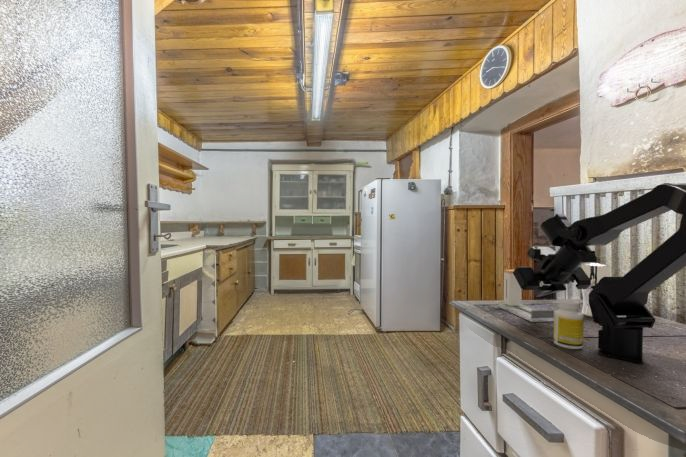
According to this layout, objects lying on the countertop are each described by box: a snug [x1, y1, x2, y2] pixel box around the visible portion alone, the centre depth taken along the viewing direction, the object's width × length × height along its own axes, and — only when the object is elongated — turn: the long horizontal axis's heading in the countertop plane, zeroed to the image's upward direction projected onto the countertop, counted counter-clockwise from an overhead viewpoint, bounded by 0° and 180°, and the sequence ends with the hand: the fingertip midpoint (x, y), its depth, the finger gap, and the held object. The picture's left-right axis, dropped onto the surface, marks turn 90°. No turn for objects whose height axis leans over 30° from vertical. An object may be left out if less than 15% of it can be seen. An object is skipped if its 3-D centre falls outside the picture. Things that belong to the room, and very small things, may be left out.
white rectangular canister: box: [503, 269, 523, 306], centre depth 102 cm, size 3×4×11 cm
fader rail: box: [498, 303, 555, 323], centre depth 97 cm, size 16×7×3 cm, turn 6°
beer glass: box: [580, 262, 611, 318], centre depth 96 cm, size 7×7×15 cm
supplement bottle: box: [553, 298, 585, 350], centre depth 72 cm, size 5×5×10 cm
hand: (536, 295), depth 92 cm, fingers closed
